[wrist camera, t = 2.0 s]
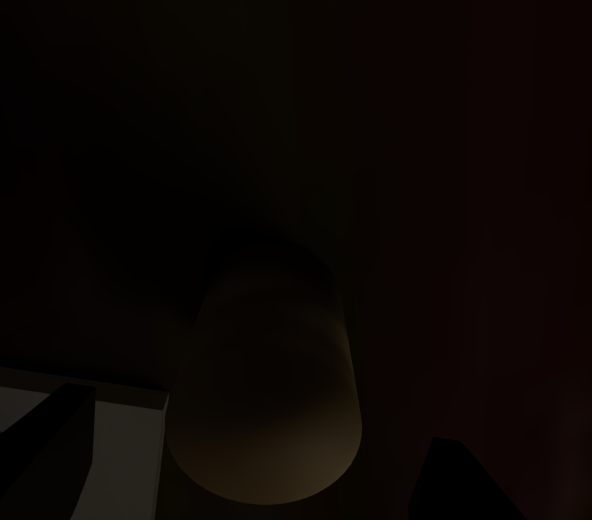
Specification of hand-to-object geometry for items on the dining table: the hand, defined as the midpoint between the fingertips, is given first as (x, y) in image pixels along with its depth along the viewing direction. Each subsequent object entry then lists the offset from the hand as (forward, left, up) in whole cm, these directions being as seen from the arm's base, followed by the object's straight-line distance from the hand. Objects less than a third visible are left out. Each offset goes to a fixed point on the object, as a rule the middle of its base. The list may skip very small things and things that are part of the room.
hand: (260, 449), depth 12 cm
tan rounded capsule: (0, 0, -7) cm, 7 cm away
